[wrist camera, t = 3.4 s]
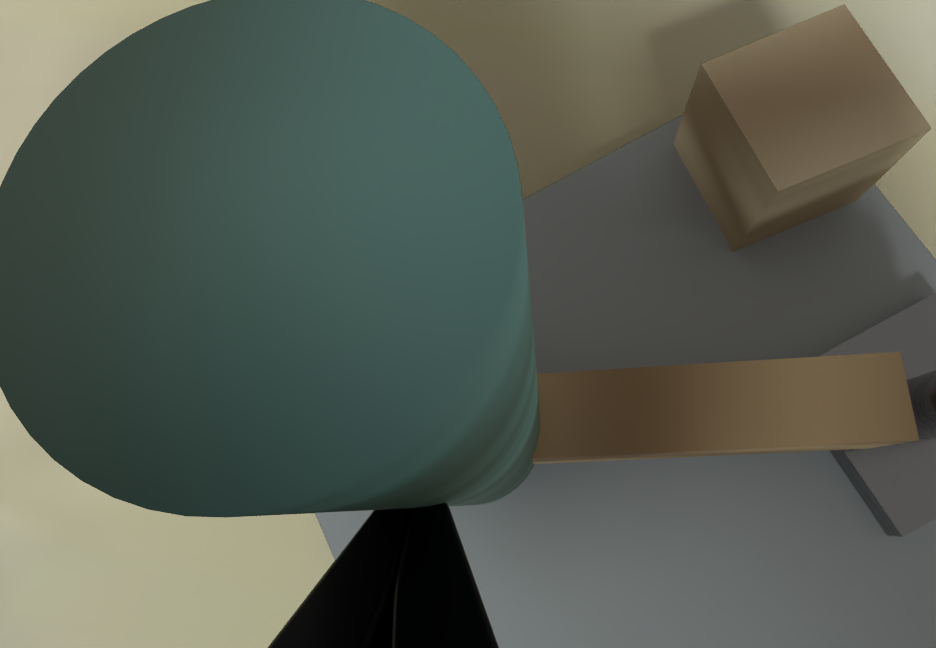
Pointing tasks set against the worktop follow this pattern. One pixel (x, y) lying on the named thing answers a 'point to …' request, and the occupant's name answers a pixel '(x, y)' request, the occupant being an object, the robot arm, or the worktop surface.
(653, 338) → the yard mat
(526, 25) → the worktop surface
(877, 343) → the post on square base
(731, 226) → the block
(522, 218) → the gate
